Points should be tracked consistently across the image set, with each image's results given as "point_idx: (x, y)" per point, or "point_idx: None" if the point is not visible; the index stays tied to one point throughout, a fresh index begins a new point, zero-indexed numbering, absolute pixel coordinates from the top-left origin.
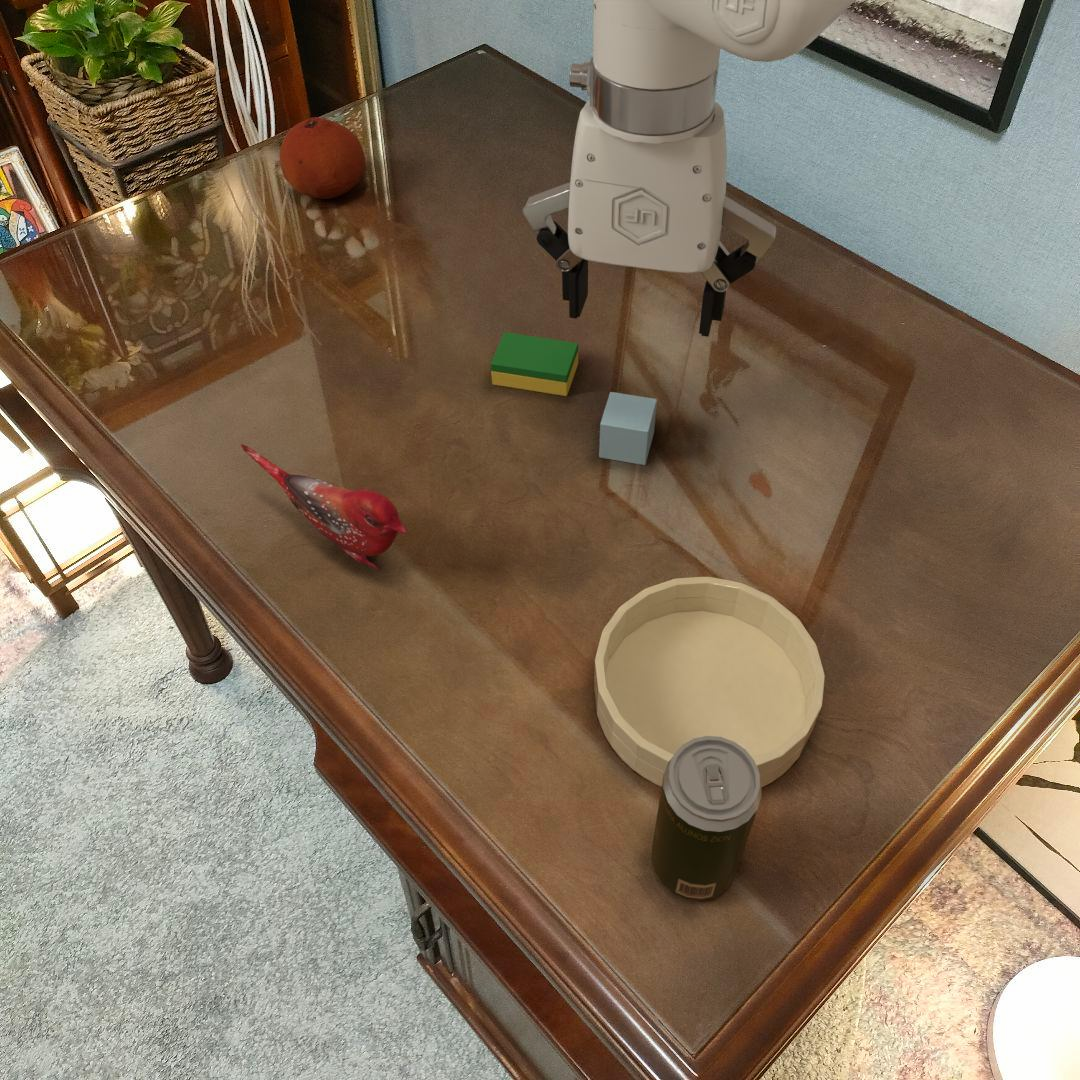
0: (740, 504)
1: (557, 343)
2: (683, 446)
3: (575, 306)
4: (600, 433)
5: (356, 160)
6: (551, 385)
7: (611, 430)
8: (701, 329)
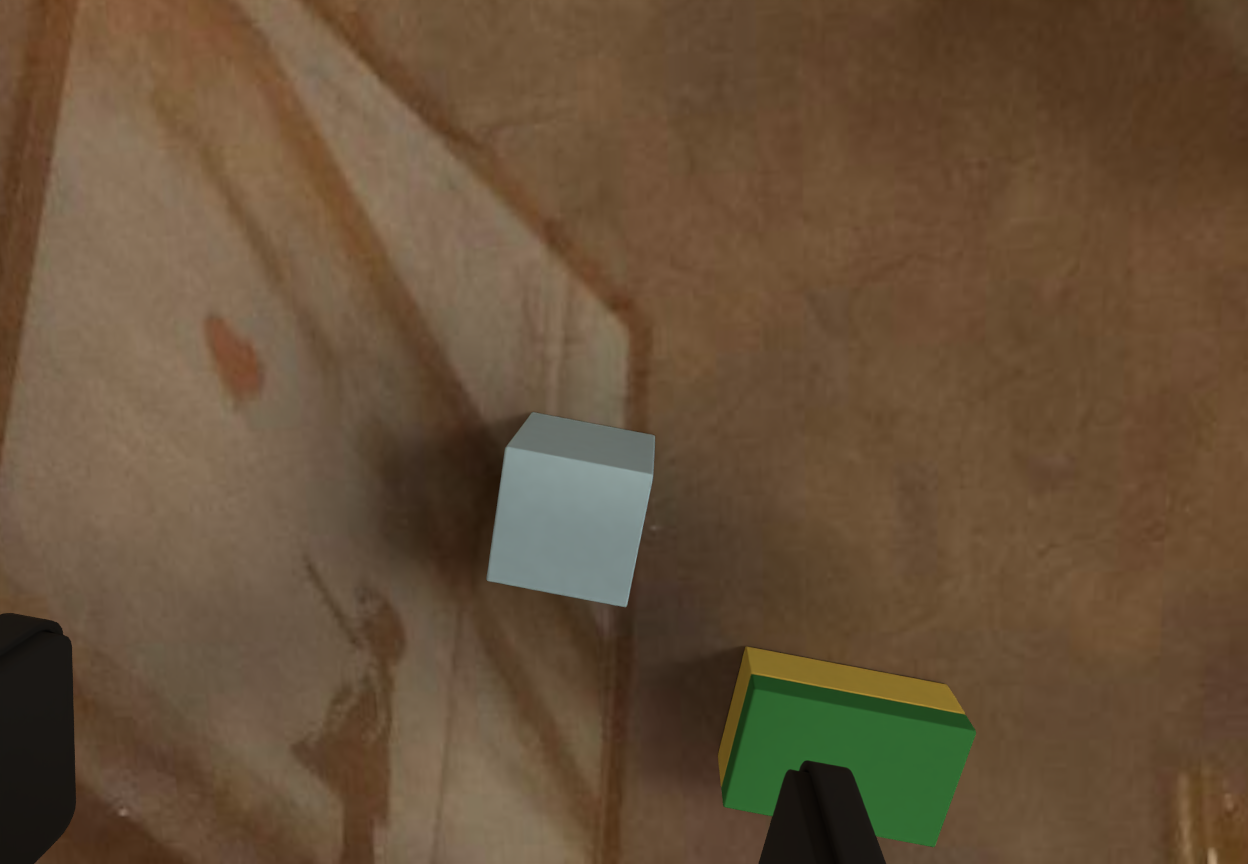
0: (279, 285)
1: None
2: (436, 482)
3: (832, 829)
4: (652, 462)
5: None
6: (791, 670)
7: (618, 462)
8: (21, 648)
